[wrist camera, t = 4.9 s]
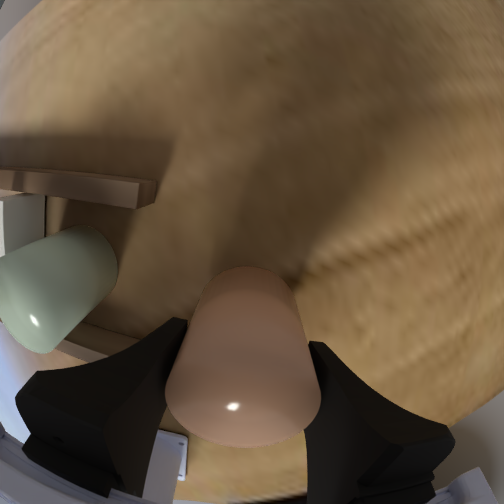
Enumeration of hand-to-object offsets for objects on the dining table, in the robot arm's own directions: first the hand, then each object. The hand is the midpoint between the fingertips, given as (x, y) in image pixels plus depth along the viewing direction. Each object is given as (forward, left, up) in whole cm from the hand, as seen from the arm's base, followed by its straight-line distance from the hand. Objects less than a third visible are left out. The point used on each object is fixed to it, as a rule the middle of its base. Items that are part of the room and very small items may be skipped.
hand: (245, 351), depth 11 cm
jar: (0, 0, -3) cm, 3 cm away
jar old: (0, +11, -5) cm, 12 cm away
